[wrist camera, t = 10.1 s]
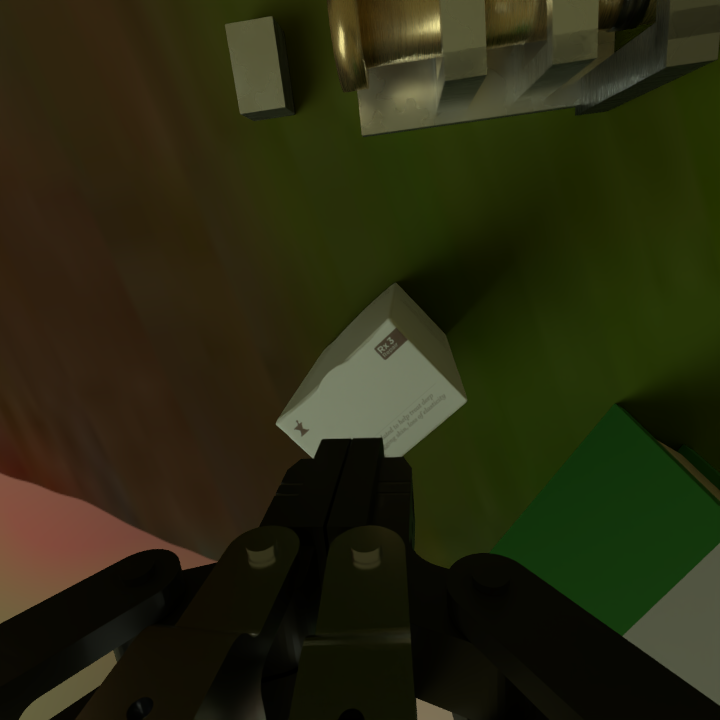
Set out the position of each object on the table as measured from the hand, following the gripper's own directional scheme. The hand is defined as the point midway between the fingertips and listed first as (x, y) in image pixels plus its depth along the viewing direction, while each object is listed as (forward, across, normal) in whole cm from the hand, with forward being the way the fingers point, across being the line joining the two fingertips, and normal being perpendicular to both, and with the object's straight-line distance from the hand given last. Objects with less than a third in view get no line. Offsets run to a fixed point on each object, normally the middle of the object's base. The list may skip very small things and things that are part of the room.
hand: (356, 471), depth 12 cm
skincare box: (+26, +2, +4) cm, 26 cm away
